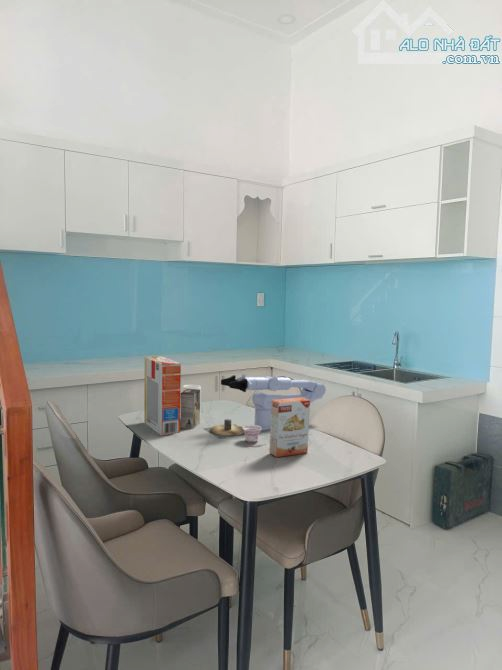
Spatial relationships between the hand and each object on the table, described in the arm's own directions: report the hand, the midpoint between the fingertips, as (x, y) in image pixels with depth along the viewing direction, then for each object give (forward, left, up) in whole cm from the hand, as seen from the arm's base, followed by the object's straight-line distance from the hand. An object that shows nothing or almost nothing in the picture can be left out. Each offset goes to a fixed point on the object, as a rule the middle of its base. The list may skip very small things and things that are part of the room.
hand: (225, 383), depth 217 cm
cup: (+4, -26, -22) cm, 34 cm away
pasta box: (+21, -19, -22) cm, 36 cm away
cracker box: (-10, +34, -22) cm, 42 cm away
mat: (-2, -1, -22) cm, 22 cm away
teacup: (-4, +16, -22) cm, 28 cm away
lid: (-2, -1, -21) cm, 21 cm away
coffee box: (+9, -16, -22) cm, 28 cm away
